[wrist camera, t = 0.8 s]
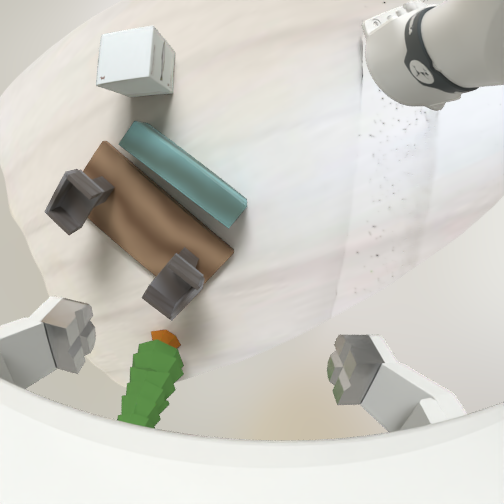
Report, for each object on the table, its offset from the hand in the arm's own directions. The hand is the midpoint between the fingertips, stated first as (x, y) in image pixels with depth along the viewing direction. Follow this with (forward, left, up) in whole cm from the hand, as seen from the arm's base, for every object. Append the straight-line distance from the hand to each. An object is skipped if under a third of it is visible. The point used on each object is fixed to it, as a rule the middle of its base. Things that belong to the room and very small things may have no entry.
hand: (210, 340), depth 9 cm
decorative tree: (+33, +10, -39) cm, 52 cm away
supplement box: (-4, -22, -39) cm, 45 cm away
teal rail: (+4, -7, -39) cm, 40 cm away
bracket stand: (+15, -7, -38) cm, 42 cm away
